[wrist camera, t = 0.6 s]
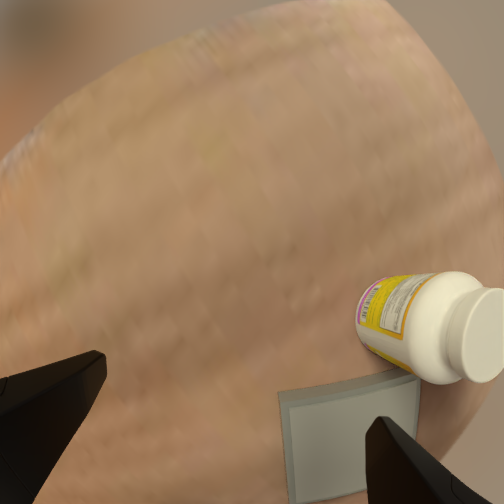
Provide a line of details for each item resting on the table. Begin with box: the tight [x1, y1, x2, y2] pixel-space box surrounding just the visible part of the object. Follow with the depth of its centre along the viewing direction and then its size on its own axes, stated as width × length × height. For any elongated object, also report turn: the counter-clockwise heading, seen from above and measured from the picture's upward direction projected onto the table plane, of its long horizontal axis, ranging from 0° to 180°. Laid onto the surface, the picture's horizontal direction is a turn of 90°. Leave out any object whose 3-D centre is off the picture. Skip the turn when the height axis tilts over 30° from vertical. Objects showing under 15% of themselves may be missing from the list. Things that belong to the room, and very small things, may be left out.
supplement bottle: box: [355, 271, 504, 385], centre depth 16 cm, size 7×7×13 cm
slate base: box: [278, 367, 421, 504], centre depth 20 cm, size 12×12×2 cm
